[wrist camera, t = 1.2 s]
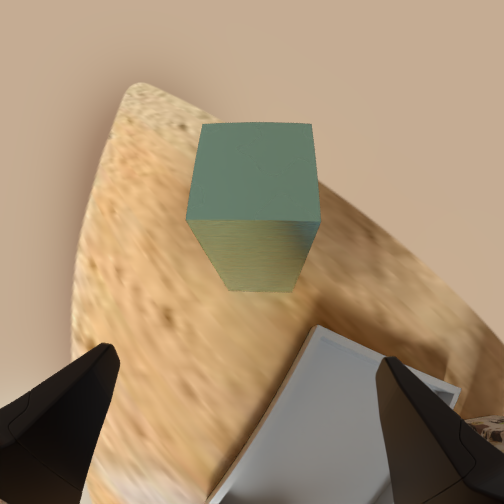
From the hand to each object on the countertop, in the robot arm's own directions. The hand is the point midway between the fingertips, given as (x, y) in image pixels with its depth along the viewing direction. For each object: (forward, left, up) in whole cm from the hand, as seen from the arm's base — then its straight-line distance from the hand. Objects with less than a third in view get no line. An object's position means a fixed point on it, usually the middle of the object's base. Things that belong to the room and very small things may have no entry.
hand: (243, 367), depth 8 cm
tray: (-5, -10, -13) cm, 17 cm away
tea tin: (+7, +3, -13) cm, 15 cm away
